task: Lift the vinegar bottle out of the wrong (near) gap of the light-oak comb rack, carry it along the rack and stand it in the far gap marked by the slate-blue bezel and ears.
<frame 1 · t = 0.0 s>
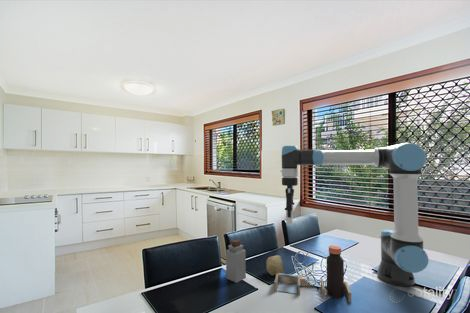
hand: (289, 220, 119), 28 cm above the table, fingers open, 13 cm apart
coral: (274, 274, 124), on the table
comb rack: (310, 290, 108), on the table
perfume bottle: (235, 278, 120), on the table
vinegar: (335, 294, 105), on the table
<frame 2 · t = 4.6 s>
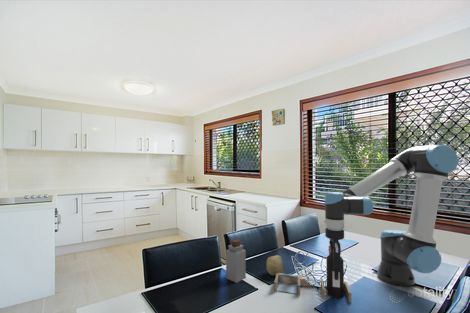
hand: (335, 282, 105), 5 cm above the table, fingers closed on vinegar, 6 cm apart
vinegar: (335, 294, 105), on the table, touching gripper
everything else where it was.
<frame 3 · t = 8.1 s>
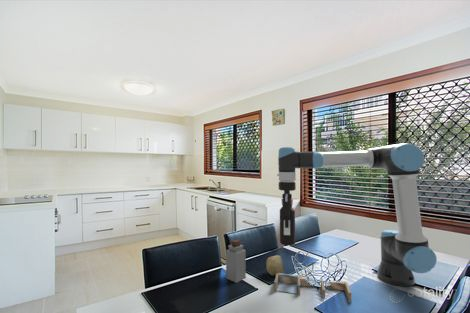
hand: (287, 232, 111), 25 cm above the table, fingers closed on vinegar, 6 cm apart
vinegar: (287, 243, 111), point 20 cm above the table, touching gripper
everything else where it was.
when the fingers open (6 cm above the table, at t = 11.8 s): vinegar drops 1 cm, resting on comb rack.
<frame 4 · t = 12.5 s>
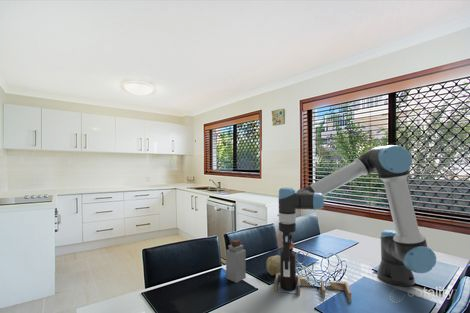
hand: (287, 269, 110), 8 cm above the table, fingers open, 13 cm apart
vinegar: (288, 287, 110), resting on comb rack
everything else where it was.
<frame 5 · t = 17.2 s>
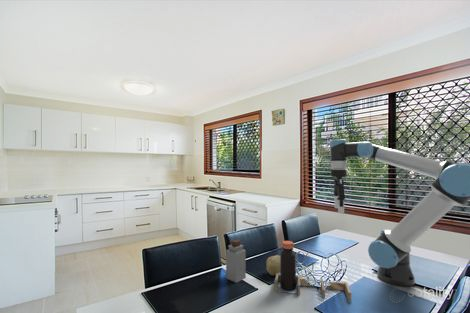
hand: (339, 210, 126), 32 cm above the table, fingers open, 13 cm apart
nothing on the table moved.
at the end: vinegar inside the target area on the comb rack (0.4 cm from its centre), point 0.1 cm above the comb rack's base; vinegar tilted 0°; the gripper is holding nothing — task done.
